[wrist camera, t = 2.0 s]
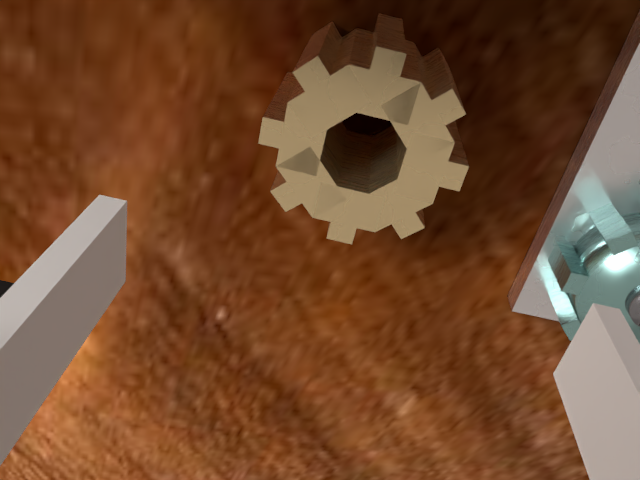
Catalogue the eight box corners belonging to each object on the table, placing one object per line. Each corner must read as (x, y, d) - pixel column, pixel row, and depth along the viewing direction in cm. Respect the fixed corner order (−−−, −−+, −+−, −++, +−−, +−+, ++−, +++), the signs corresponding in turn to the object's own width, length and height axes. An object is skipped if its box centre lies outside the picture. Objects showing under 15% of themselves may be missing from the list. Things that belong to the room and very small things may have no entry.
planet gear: (251, 74, 30) (217, 120, 24) (401, -24, 27) (405, -1, 21) (340, 204, 33) (330, 272, 27) (482, 130, 30) (505, 189, 24)
